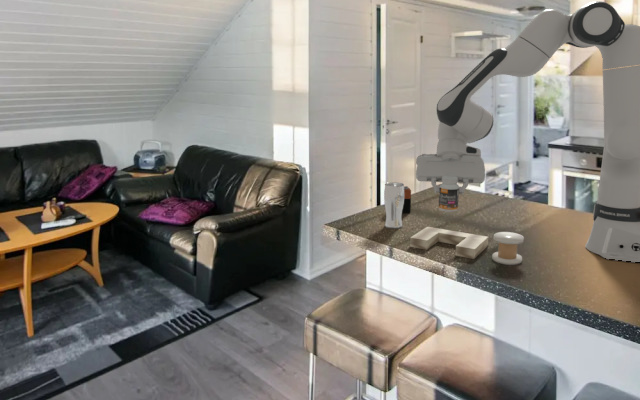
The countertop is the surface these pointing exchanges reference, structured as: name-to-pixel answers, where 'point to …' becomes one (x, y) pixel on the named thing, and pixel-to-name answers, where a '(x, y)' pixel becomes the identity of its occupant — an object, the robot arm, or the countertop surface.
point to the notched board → (450, 241)
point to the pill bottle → (449, 194)
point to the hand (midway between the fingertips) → (449, 192)
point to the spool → (507, 248)
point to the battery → (407, 200)
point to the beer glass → (394, 204)
